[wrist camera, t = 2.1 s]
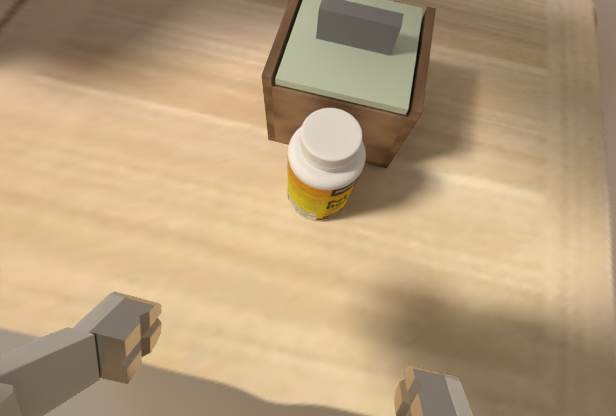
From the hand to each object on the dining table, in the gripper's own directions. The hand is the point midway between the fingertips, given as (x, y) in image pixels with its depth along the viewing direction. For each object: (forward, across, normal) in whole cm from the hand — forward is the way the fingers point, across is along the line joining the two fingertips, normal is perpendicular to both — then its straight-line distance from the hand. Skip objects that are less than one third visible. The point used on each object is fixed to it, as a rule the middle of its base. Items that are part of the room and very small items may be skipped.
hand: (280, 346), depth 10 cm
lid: (+21, 0, -10) cm, 24 cm away
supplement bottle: (+20, 0, +3) cm, 20 cm away
